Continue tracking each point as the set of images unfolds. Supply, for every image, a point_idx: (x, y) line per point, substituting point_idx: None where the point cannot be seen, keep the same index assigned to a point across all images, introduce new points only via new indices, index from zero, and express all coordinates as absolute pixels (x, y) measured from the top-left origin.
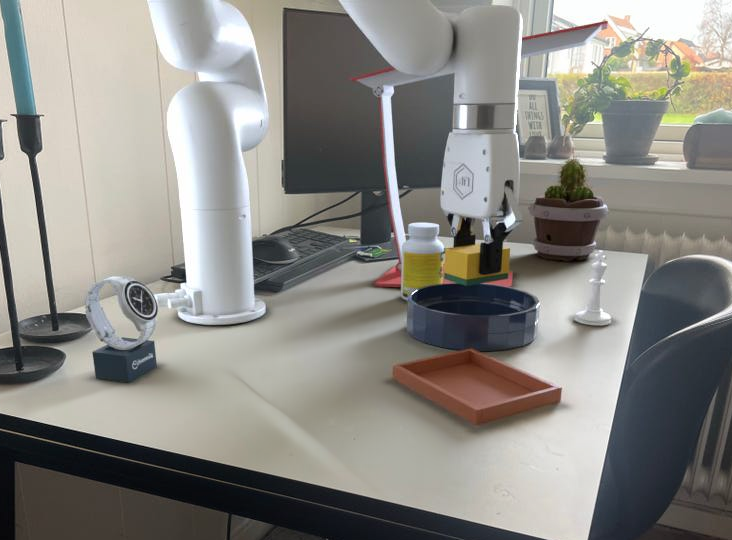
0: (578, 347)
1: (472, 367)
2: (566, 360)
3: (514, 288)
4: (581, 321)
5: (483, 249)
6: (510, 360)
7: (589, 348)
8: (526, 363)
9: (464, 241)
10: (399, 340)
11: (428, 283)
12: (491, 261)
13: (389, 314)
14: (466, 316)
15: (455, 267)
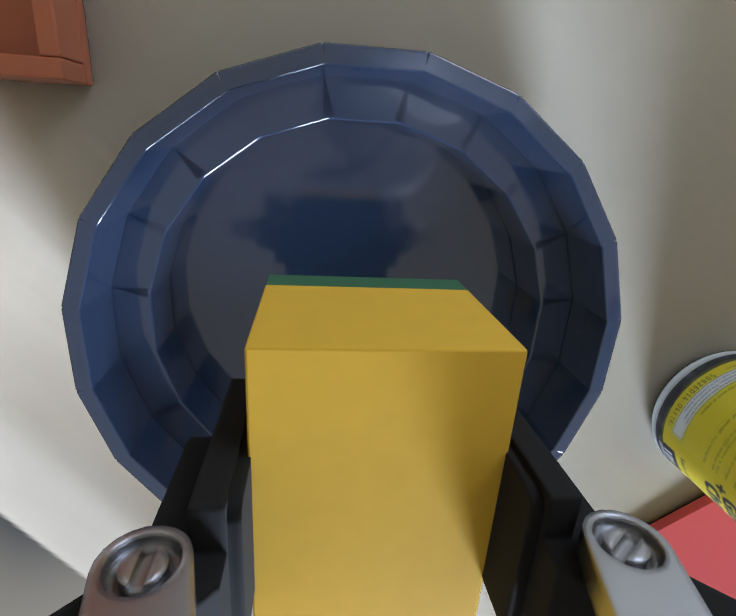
0: (93, 469)
1: (8, 26)
2: (6, 371)
3: None
4: None
5: (202, 477)
6: (73, 232)
7: (73, 486)
8: (27, 255)
9: (508, 528)
10: (440, 43)
11: (709, 427)
12: (183, 458)
13: (674, 216)
14: (131, 135)
15: (374, 302)
